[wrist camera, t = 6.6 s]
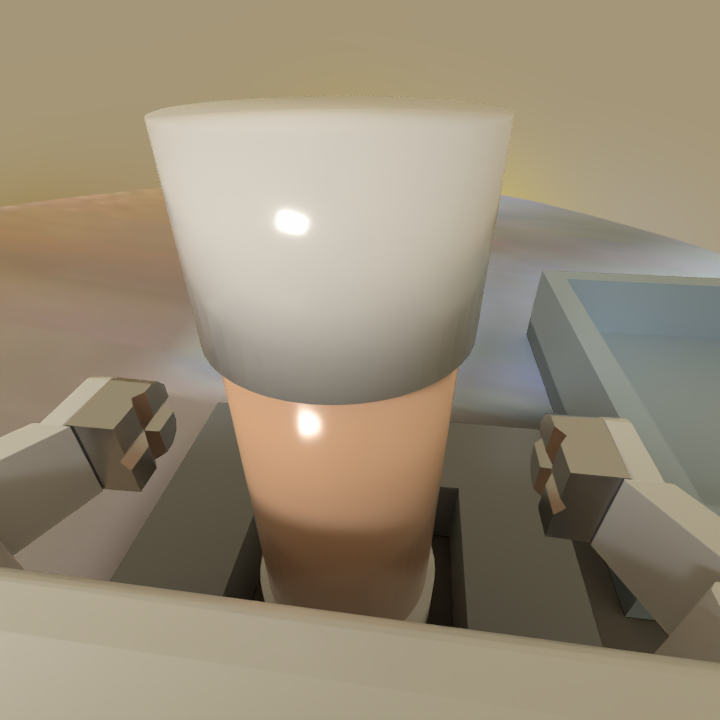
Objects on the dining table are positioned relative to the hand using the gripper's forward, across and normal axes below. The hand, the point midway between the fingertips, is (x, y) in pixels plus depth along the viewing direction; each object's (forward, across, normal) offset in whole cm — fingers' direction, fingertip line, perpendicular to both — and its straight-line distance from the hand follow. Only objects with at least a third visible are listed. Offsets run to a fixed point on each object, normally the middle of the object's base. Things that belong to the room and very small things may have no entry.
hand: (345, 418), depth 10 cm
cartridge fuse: (-1, 0, +7) cm, 7 cm away
